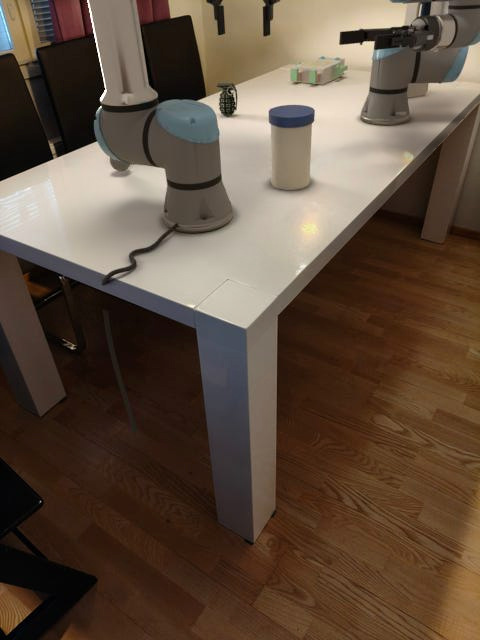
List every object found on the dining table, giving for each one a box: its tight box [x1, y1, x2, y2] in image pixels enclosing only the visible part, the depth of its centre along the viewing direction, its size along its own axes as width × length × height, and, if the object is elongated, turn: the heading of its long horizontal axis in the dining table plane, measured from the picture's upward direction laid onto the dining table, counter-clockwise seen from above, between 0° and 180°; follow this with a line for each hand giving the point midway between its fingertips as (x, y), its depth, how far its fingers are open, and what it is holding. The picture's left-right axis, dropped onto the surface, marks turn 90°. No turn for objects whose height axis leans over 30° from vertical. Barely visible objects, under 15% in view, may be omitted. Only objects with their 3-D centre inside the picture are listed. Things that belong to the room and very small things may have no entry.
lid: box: [268, 104, 316, 128], centre depth 111 cm, size 10×10×2 cm
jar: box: [270, 123, 313, 191], centre depth 115 cm, size 9×9×16 cm
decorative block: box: [290, 56, 349, 85], centre depth 205 cm, size 26×6×20 cm
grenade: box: [215, 82, 238, 117], centre depth 166 cm, size 7×6×10 cm
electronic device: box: [403, 2, 432, 98], centre depth 170 cm, size 12×8×30 cm, turn 105°
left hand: (243, 35), depth 129 cm, fingers open, 13 cm apart
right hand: (357, 40), depth 112 cm, fingers open, 13 cm apart
